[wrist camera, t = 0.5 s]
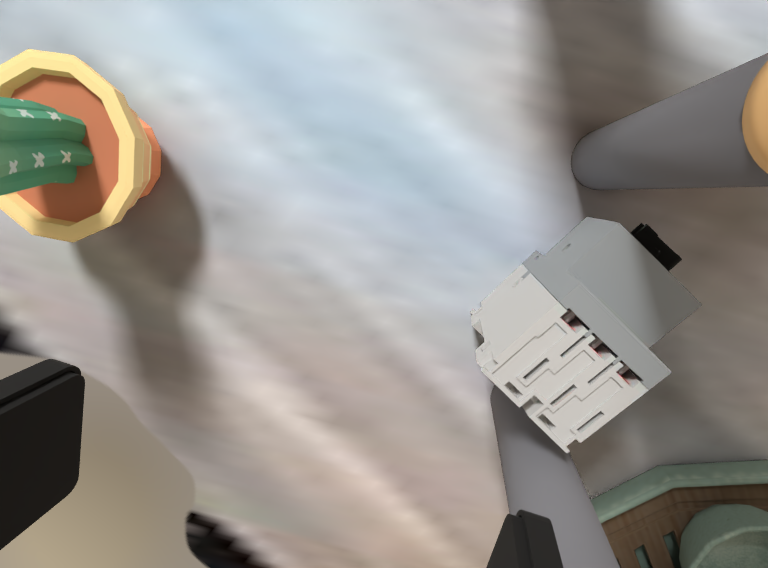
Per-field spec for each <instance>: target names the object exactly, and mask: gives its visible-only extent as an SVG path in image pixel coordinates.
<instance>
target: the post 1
mask: <svg viewBox="0 0 768 568" xmlns="http://www.w3.org/2000/svg"><path fill="white" fill-rule="evenodd" d="M491 406H492V412H493V417H494V423H495V429H496V435H497V441H498V447H499V453H500V459H501V465H502V471H503V476H504V482H505V488H506V494H507V500H508V506H509V512H510V514H512V515H515V516H516V514H517V512H518V511H519V510H521V509H522V510H525V511H528V512H531V513H534V514H538V515H541V516H544V517H547V518H549V519H550V520H551V523H552V526H553V529H554V533H555V537H556V541H557V545H558V549H559V552H560V556H561V560H562V564H563V568H620V566H619V564H618V562H617V560H616V557H615V555H614V553H613V550H612V548H611V546H610V544H609V541H608V539H607V537H606V535H605V532H604V530H603V528H602V525H601V523H600V521H599V519H598V516H597V514H596V512H595V510H594V507H593V505H592V503H591V500H590V498H589V496H588V494H587V491H586V489H585V487H584V484H583V482H582V480H581V478H580V475H579V473H578V471H577V469H576V466H575V464H574V462H573V459H572V457H571V455H570V453H569V452H568V453H566V452H565V451H564V450H563V449H562V448H561V447H559V446H558V445H557V444H556V443H555V442H554V441H553V440H552V439H551V438H550V437H549V436H548V435H547V434H546V433H545V432H544V431H543V430H542V429H541V428H540V427H539V426H538V425H537V424H536V423H535V422H534V421H533V420H532V419H531V418H529V416H528V415H527V413H526V412H525V410H524V408H523V407H522V406H521V407H520V408H519V407H518V406H517V405H516V404H515V403H514V402H513V401H512V400H511V399H510V398H509V397H508V396H507V395H506V394H505V393H504V392H503V391H502V390H501V389H500V388H498V387H497V386H496V385H495V386H494V388H493V390H492V393H491Z"/></svg>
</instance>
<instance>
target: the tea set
mask: <svg viewBox="0 0 768 568" xmlns="http://www.w3.org/2000/svg"><path fill="white" fill-rule="evenodd" d="M591 503H592V505H593V507H594V510H595V512H596V514H597V516H598V519H599V521H600V523H601V525H602V528H603V530H604V532H605V535H606V537H607V539H608V541H609V544H610V546H611V548H612V550H613V553H614V555H615V557H616V560H617V562H618V564H619V566H620V568H768V460H756V461H737V462H718V463H700V464H681V465H662V466H657V467H655V468H653V469H651V470H649V471H647V472H645V473H643V474H641V475H639V476H637V477H635V478H633V479H631V480H629V481H627V482H625V483H623V484H621V485H619V486H617V487H615V488H613V489H611V490H609V491H607V492H605V493H603V494H601V495H599V496H597V497H595V498H593V499H591Z"/></svg>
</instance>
